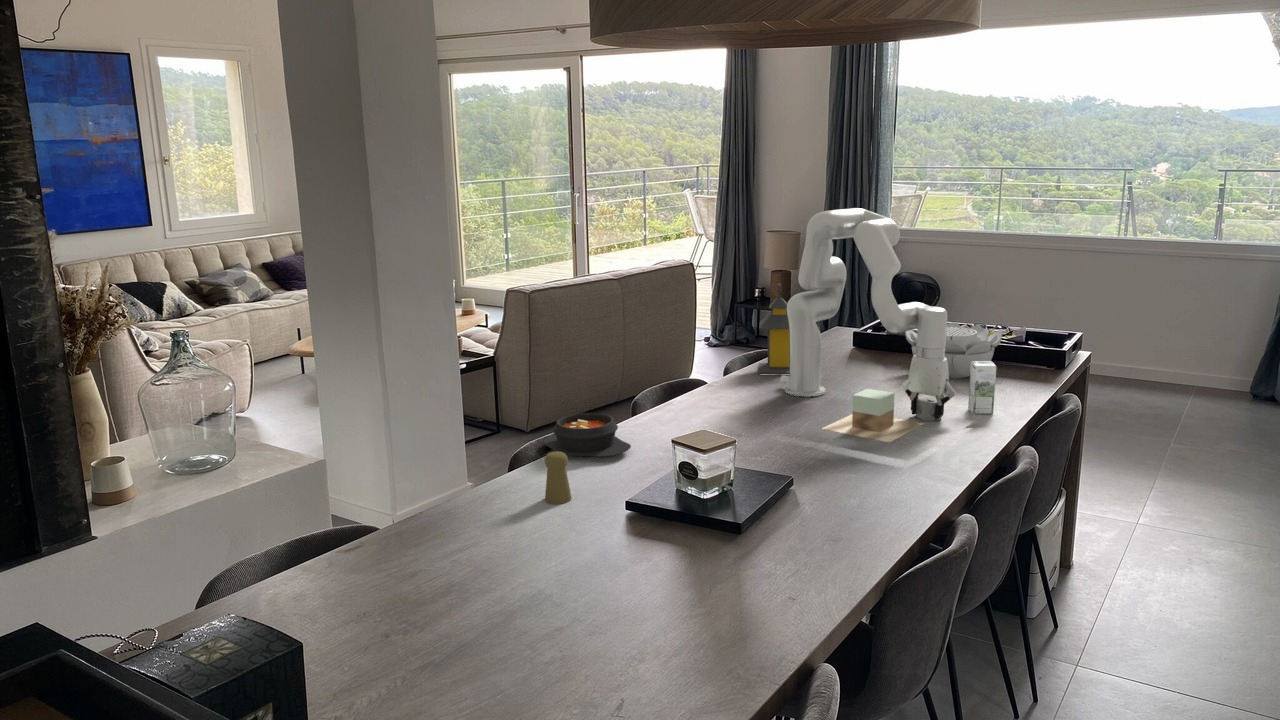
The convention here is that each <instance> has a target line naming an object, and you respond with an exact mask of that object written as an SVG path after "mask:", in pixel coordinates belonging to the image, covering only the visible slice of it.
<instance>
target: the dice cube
mask: <svg viewBox="0 0 1280 720" xmlns="http://www.w3.org/2000/svg"><path fill="white" fill-rule="evenodd" d="M918 398H919V397H918ZM916 401H917V402H916V414H915V417H917V418H918V419H920V420H922V421H923V422H933V421H941V420H942V417H941V416H940V418H939V419H935V407H936V405H937V400H936V397H935V396H932V397H921V398H919V399H917V400H916Z"/></svg>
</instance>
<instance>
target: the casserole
mask: <svg viewBox="0 0 1280 720" xmlns="http://www.w3.org/2000/svg"><path fill="white" fill-rule="evenodd" d="M618 429H619V426H618V425H617V423H616V421H615V420H614V418H613V417H612V416H611V415H609V414H605V413H599V412H597V413H596V412H581V413H574V414H572V413H571V414H569V415H565V416H562V417H560V418H558V419H557V420H556V422H555V426H554V427H552V433H553V434H552V435H550V436H548V437H546V438H545V439H544V440H543V441H542V442H541V443H542V445H544V446H546V447H547V448H549V449H551V451H552V452H563V453H565V454H566V456H567V457H571V458H572V457H573V458H580V459H581V458H593V457H594V458H610V457H615V456H618V455H622V454H623V453H625V452H627V451H629V450H630V449H631V447H632V445H631V444H630V443H628V442H627V441H624V440H621V439H620V438H618V437H617V436H616V432H617V431H618Z"/></svg>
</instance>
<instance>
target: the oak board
mask: <svg viewBox="0 0 1280 720" xmlns="http://www.w3.org/2000/svg"><path fill="white" fill-rule="evenodd" d="M924 424H925V423H923V422H917V421H911V420H907V419H901V418H895V417H894V420H893V425H892V426H891V427H889V428H887V429H885V430H883V431H881V432H875V431H870V430H865V429H859V428H854V427H852V413H851V414H850V415H847V416H845V417H843V418H841V419H839V420H836V421H835V422H832V423H830V424H828V425H826V426H824V427H822V428H821V430H825V431H831V432H836V433H840V434H845V435H850V436H855V437H860V438H865V439H870V440H873V441H874V440H875V441H880V442H885V443H891V442H893V441H895V440H897V439H899V438H901V437H903V436H904V435H906V434H909V433H910V432H911V431H913V430H916V429H917V428H919V427H920V426H922V425H924Z"/></svg>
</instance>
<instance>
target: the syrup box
mask: <svg viewBox="0 0 1280 720" xmlns="http://www.w3.org/2000/svg"><path fill="white" fill-rule="evenodd" d="M996 377H997V365H996V364H995V363H994V362H993V361H992V360H991V361H971V369H970V376H969V389H968V390H969V391H968V407H967V408H968V410H969V412H971V414H973V415H994V406H995V392H996Z"/></svg>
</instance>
